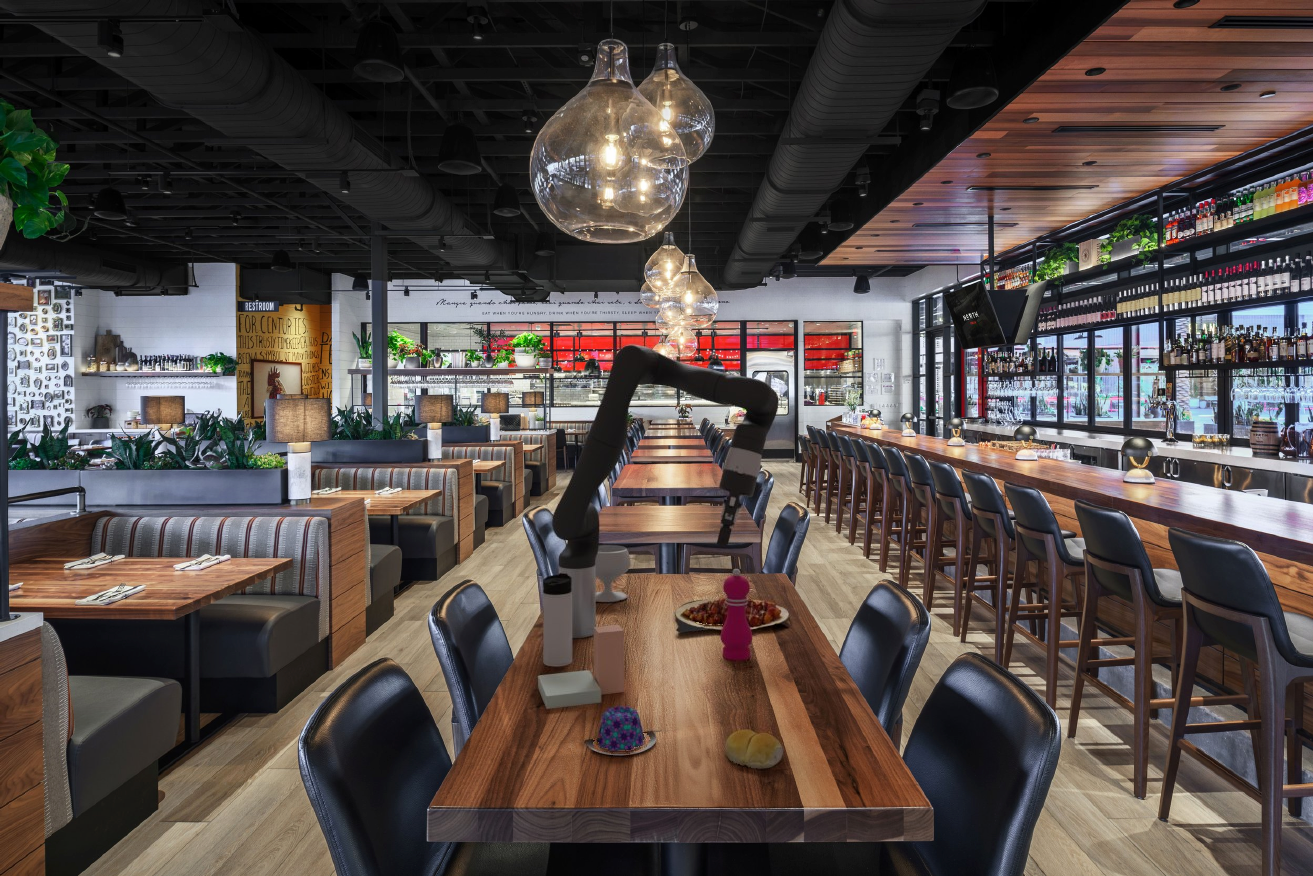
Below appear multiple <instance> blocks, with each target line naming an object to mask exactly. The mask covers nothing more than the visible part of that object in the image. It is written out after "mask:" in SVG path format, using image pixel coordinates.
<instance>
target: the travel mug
mask: <svg viewBox="0 0 1313 876" xmlns="http://www.w3.org/2000/svg"><path fill="white" fill-rule="evenodd" d="M571 587H572V578H571V577H570V576H568V574H566V573H560V574H559V573H558V574H553V575H548V576H546V577H545V578H544V579H543V580H542V628H543V629H542V638H543V639H542V643H543V646H542V649H543V650H542V651H543V654H542V656H543V657H542V659H543V665H545V666H549V667H564V666H565V667H566V666H569V665H570V664H572V662H573V638H572V588H571Z"/></svg>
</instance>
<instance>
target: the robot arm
mask: <svg viewBox="0 0 1313 876" xmlns="http://www.w3.org/2000/svg"><path fill="white" fill-rule="evenodd" d="M645 385H650V386H651V385H653V386H654V385H655V386H663V387H669V388H673V389H676V390H679V391H682V392H685V393H686V394H688V395H691V396H693V397H696V398H698V399H701V400H705V401H708V402H711V403H715V404H718V405H723V406H729V405H731V406H734V407H737V408H741V409H743V410H746V411H745V414H744V417H743V420H742V422H741V423H739V424H737V425H736V427H735V429H734V432H733V434H732V435H733V436H732V440H731V442H730V447H729V450H728V453H727V455H726V458H725V462H724V466H723V468H722V469H723V470H722V473H721V477H720V482H719V485H718V488H719V489H720V490H721V491H725V492H728V493H729V494H728V495H727V497H726V499H724V498H723V502H722V510H721V513H720V524H719V525H720V528H719V529H720V530H719V533H718V538H717V540H716V544H717V546H720V547H727V546H728V545H729V543H730V538H731V535H732V534H731V533H732V531H733V529H734V527H735V526H734V525H735V524H736V522H737V520H738V517H739V514H740V513H741V509H742V506H743V503H741V502H740V501H741V500H740V498H741V497H742V496H744V497H748V498H752V497H753V496H754V493H755V489H756V485H757V481H758V477H759V473H760V469H761V464H762V457H763V452H764V448H765V445H766V440H767V439H766V438H767V436H768V433H769V432H770V430H771V427H772V426H773V422H774V421H775V418H776V416H777V413H778V409H779V396H778V394H777V392H776V391H775V389H773V388H772V387H771V386H770V385H769V384H768V383H767V382H766V381H763V380H760V379H758V378H754V377H748V376H740V375H732V374H730V373H726V372H722V371H719V370H715V369H711V368H707V367H702V366H697V365H692V364H688V363H684V362H681V361H679V360H675V359H672V358H671V357H669V356H665V355H663V354H662V353H660V352H658V351H656V350H654V349H653V348H650V347H649V346H643V345H639V344H627V345H624V346H623V347H621V348H620V349H619V350H618V351H617V353H616V354H615V356H614V358H613V362H612V365H611V368H610V371H609V376H608V380H607V382H606V386H605V389H604V393H603V396H602V399H601V401H600V404H599V407H598V409H597V412H596V415H595V417H594V420H593V422H592V424H591V426H590V429H589V430H588V434H587V437H586V439H585V442H584V444H583V448H582V450H581V453H580V456H579V457H578V460H577V463H576V465H575V467H574V470H573V473H572V475H571V478H570V479H569V483H568V484H567V486H566V488H565V491H564V492H563V494H562V496H561V498H560V499H559V502H558V503H557V505H556V507H555V509H554V512H553V514H552V518H551V523H552V524H551V525H552V527H551V528H552V530H553V533H554V535H555V536H556V537H558V539H560V540H563V541H567V542H566V546H565V547H564V549H563V550H562V551H561V552H560V554H559V555H558V575H559V574H560V573H566V574H568V576H570V577H571V578H572V587H571V588H572V639H583V638H588V637H591V636H594V627H597V624H596V623H597V621H596V618H597V610H596V608H597V604H596V588H597V586H596V581H597V579H596V578H597V577H595V560H596V556H597V554H598V549H599V546H600V516H599V512H598V509H597V508H596V506H595V505H594V504H593V503H592V500H593V497H594V495H595V493H596V492H597V491H598V489H599V488H600V487H601V486H602V484H603V483H604V482H605V481H606V480H607V478H608V477H609V476H610V474H611V473H612V471H614V469H615V467H616V466H617V464H618V463H619V460H620V458H621V455H622V453H623V451H624V448H625V445H626V442H627V439H628V432H629V431H628V430H629V429H628V428H629V426H628V425H629V419H628V418H629V415H628V414H629V408H630V405H631V402H632V399H633V397H634V394H635V393H636V390H637V388H638V386H645Z"/></svg>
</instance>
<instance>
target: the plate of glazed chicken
mask: <svg viewBox="0 0 1313 876" xmlns="http://www.w3.org/2000/svg"><path fill="white" fill-rule="evenodd" d="M725 598H726V597H722V598H720V597H719V598H718V597H717V598H705V599H698V600H692V601H687V602H685V603H683V604H682V605H681V606H679V607H677V609H676V610H675V612H674V616H675V619H677V622H678V627H676V629H675V631H676V633H686V632H687V633H688V632H695V631H697V632H698V631H704V630H720V631H722V628H718V627H717V628H715V627H716V626H714V625H713V624H723V625H722V626H724V624H725V621H726V619H727V615H728V606H727V604H726V603H725V602H726V599H725ZM747 602H748V603H747V604H746V606H745V615H746V619H747V622H748V624H749V626H750V629H751V630H754V629H755V630H756V629H758V628H763V627H768V626H773V625H775V624H776V625H777V624H780V625H783V626H784V627H787V628H790V625H791V622H790V618H789V617H790V612H789V611H788V610H787V609H786V608H785V607H782V606H779V605H777V604H776V603H775V602H772V601H767V600H756V599H752V598H748V599H747ZM696 622H699V623H702V624H701V625H700V624H697V623H696ZM706 623H707V624H712V625H713V626H710V627H709V626H705V625H703V624H706ZM702 625H703V626H702ZM704 626H705V627H704ZM752 627H753V628H752Z"/></svg>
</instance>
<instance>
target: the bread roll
mask: <svg viewBox="0 0 1313 876" xmlns="http://www.w3.org/2000/svg"><path fill="white" fill-rule="evenodd" d="M725 754H726V756H727V758H728V759H729V761H731V762H732V761H733V762H732V763H734V764H736V763H737V764H736V765H738V764H740V766H747V767H748V768H750V767H751V769H756V768H757V769H756V770H758V769H759V770H761V769H769V768H772V767H774V766H775V765H777V764H778V763H779V762H781V760H782V757H783V755H784V747H783V746H782V744H781V742H780V741H779V740H778V739H777V738H776V737H775V736H773V735H772V734H770V733H767V732H760V733H757V732H755V731H754V730H751V729H748V728H747V729H740V730H736V731H734V732H732V734H730V735H729V736H728V738H727V739H726V741H725Z"/></svg>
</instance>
